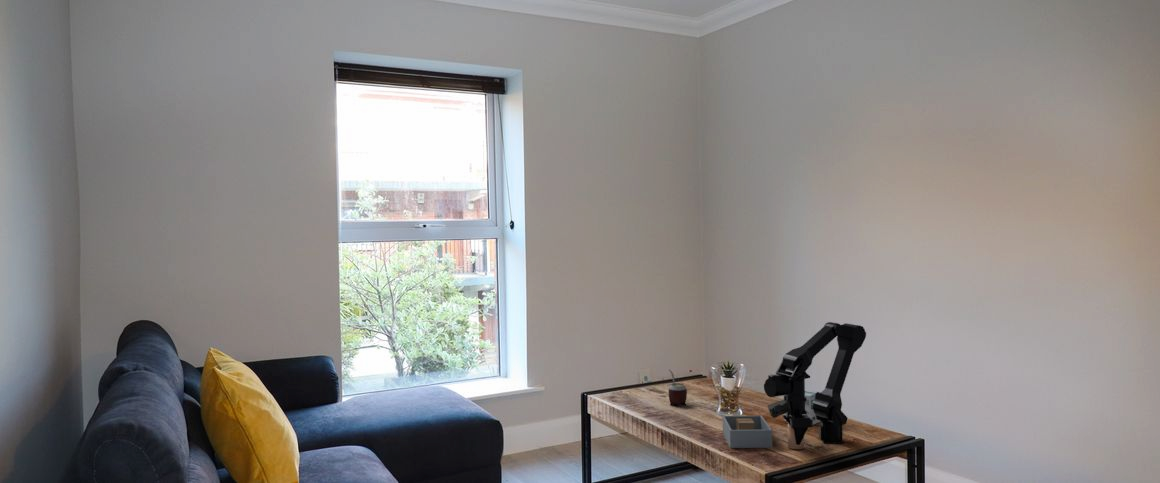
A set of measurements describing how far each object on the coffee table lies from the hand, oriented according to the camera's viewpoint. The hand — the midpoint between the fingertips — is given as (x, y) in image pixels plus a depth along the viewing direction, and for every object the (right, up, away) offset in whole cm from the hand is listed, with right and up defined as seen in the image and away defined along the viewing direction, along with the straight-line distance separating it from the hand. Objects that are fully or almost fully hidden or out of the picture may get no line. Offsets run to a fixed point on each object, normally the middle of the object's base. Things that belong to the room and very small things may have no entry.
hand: (795, 442), depth 240 cm
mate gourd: (-30, -1, +56) cm, 63 cm away
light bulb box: (+10, -1, +30) cm, 31 cm away
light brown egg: (0, -2, 0) cm, 2 cm away
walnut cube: (-13, -1, +12) cm, 18 cm away
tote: (-14, -2, +10) cm, 17 cm away
